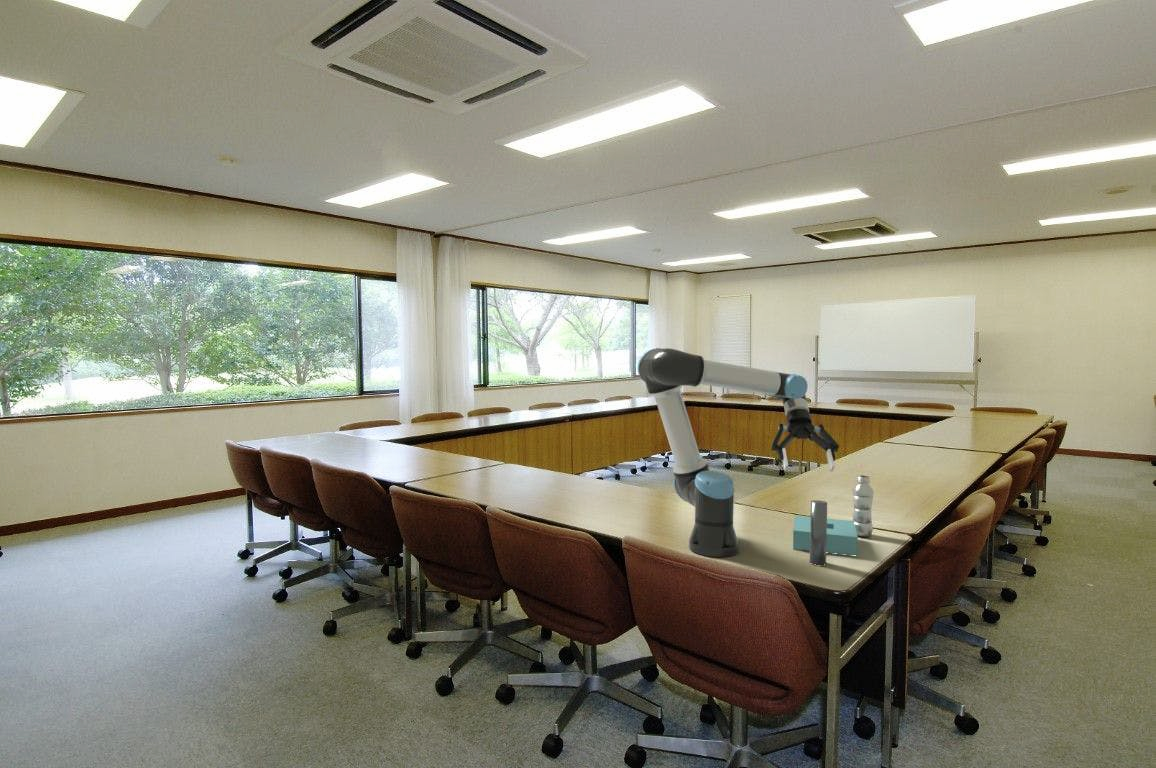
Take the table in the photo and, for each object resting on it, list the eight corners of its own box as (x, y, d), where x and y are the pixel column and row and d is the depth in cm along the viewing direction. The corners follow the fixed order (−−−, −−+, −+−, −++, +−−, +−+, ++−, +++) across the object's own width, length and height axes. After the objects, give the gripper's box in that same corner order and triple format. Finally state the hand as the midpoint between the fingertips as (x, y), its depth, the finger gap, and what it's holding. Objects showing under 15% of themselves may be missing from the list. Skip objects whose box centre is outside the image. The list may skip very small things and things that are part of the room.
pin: (809, 564, 165) (810, 503, 164) (809, 559, 170) (810, 499, 169) (826, 567, 164) (827, 504, 163) (825, 561, 168) (827, 501, 167)
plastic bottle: (848, 535, 192) (849, 476, 191) (855, 531, 197) (857, 473, 196) (868, 540, 187) (870, 479, 186) (875, 535, 192) (877, 476, 191)
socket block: (793, 549, 179) (793, 530, 178) (794, 532, 195) (794, 515, 195) (857, 556, 172) (857, 537, 171) (852, 538, 188) (853, 520, 188)
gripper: (834, 422, 191) (848, 476, 177) (757, 421, 194) (765, 474, 180) (839, 407, 186) (855, 462, 172) (760, 406, 189) (769, 460, 175)
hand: (809, 468), depth 176 cm, fingers open, 13 cm apart
